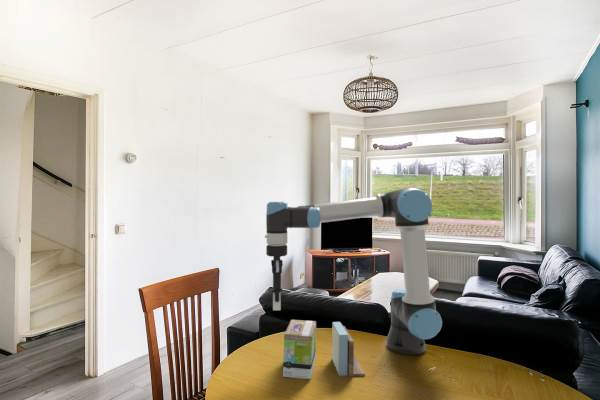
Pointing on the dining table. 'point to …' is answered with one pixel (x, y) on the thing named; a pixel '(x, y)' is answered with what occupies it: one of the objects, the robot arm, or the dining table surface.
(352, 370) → the bookend
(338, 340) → the book
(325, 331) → the dining table surface
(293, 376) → the tea box
